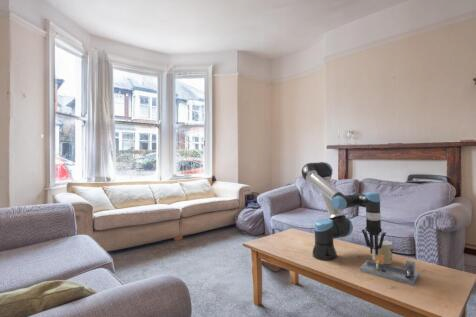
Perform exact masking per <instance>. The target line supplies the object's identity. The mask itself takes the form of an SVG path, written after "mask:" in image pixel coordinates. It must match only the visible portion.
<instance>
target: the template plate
mask: <svg viewBox="0 0 476 317" xmlns="http://www.w3.org/2000/svg"><path fill="white" fill-rule="evenodd" d="M359 272H363V273H366V274H370V275H373V276H378V277H381V278H385V279H389V280H392V281H396V282H399V283H403V284H407V285H411V286H415V285H416V282H417V280H418V277H419V272H418V271H416V262H415V261H410V260H406V261H405V263H404V268H403V267H400V266H396V265H391V264H383V265H382V264H378V269H376V263H375V260H370V259H367V260H366V261H365V262H364V263H363V264H361V266H360V267H359Z"/></svg>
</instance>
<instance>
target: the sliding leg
mask: <svg viewBox="0 0 476 317" xmlns="http://www.w3.org/2000/svg"><path fill="white" fill-rule="evenodd" d="M374 261H375V263H376V269H378V264H382V265H383V264H384V263H385V257H384V255H379V254H378V255H376V256H375V260H374Z"/></svg>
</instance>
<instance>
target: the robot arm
mask: <svg viewBox="0 0 476 317" xmlns="http://www.w3.org/2000/svg"><path fill="white" fill-rule="evenodd" d="M332 175H333V168H332V166H331V164H330V163H328V162H327V161H319V162H308V163H306V164H304V165H303V167H302V168H301V177H302V178H303V179H304V181H306V183H310V184H311V185H313V186H314V187H315V188H316V189H317V190H318V191H320V192H321V195H322V198H323V201H324V204H325V208H326V210H327V213H328V218H319V219H317V220H315V222H314V227H313V228H314V246H313V249H312V257H314V258H315V259H317V260H321V261H333V260H336V259H337V257H338V256H337V255H338V254H337V250H336V248H335V245H334V240H335V239H339V238H345V237H349V236H350V235H351V234H352V232H353V230H354V225H353V223H352V221H351V219H350V218H348V217H346V215H345V214H344V213H343V212H342V210H344V209H350V208H355V207H361V208H365V218H366V219H365V221H366V222H365V223H366V226H365V228H363V229H362V230H361V232H362V234H363V237H364V241H365V243H366V248H367V247H368V248H370V254H372V256H371V259H372V261H375V256H376V255H378V249H381V248H382V244H383V240H385V236H386V235H387V232H385V231H384V230H383V229H382V221H381V218H382V217H381V216H382V215H381V196H380V195H381V194H380V193H379V192H378V191H377V192H376V191H368V192H365V193H364V194H362V193H359V192H351V193H350V194H344V193H342V192H341V191H340V190H339V189H337V188H336V187H335V186H333V184H332V181H331V180H332V178H333V177H332ZM368 234H369V236H368ZM379 235H381V236H380V239H379ZM378 240H380V243H379V246H378Z"/></svg>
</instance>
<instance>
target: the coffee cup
mask: <svg viewBox="0 0 476 317" xmlns="http://www.w3.org/2000/svg"><path fill="white" fill-rule="evenodd" d="M379 243H380V239H378V246H379ZM393 246H394V244H393V242H392V241H390V240H386V239H384V240H383V244H382V248H381V249H378V254H379V255H384V257H385V263H384V264H388V265H391V264H392V263H393Z"/></svg>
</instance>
